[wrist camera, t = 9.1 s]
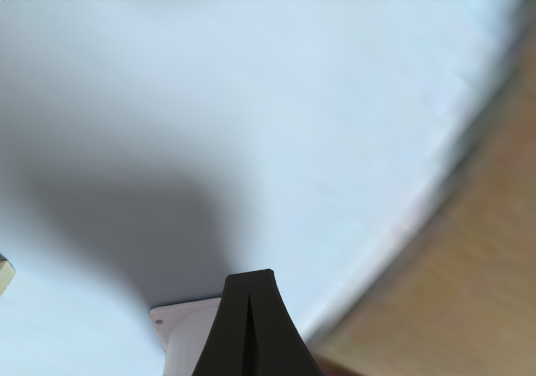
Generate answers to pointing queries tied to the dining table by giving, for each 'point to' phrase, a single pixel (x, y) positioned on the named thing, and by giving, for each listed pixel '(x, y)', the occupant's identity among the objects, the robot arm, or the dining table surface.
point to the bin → (5, 275)
